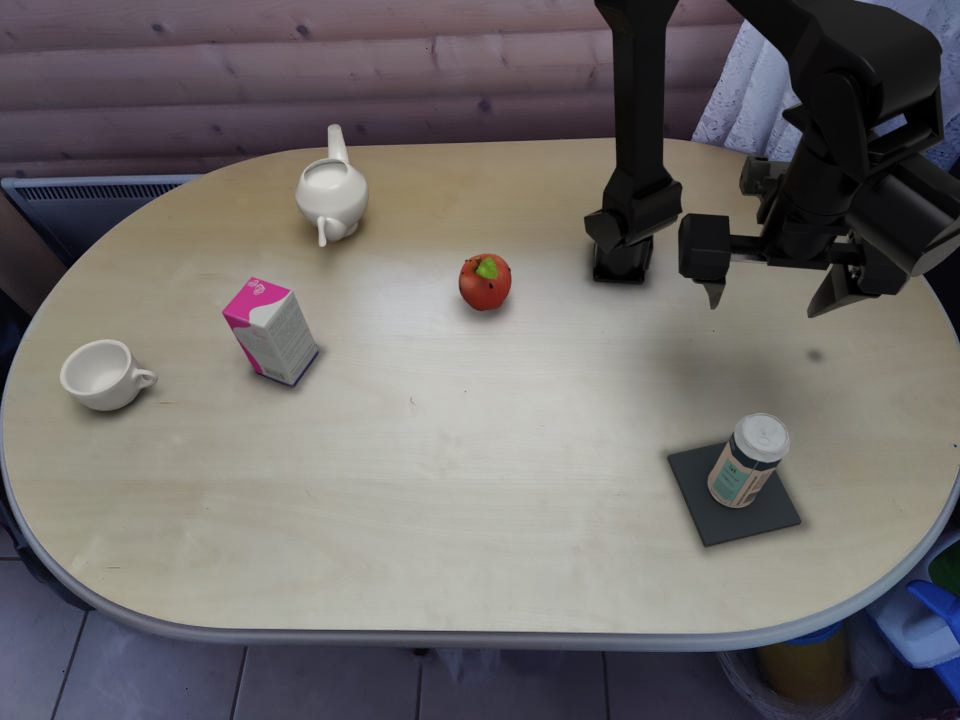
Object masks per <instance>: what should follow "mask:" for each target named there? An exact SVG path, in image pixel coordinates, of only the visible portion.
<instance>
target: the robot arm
mask: <svg viewBox="0 0 960 720" xmlns="http://www.w3.org/2000/svg"><path fill="white" fill-rule="evenodd" d="M725 1H726V2H727V3H728V4H729V5H730V6H731V7H732V9H734V10H735V11H736V12H737V13H738V14H739V15H740V16H741V17H742V18H744V19H745V21H747V22H748V23H749V24H750V25H751V26H752V27H753V28H754V29H755V30H756V31H757V32H758V33H759V34H760V35H761V36H762V37H764V39H766V40H767V41H768V43H770V44H771V45H772V46H773V47H774V48H775V49H776V50H777V51H778V52H779V53H780V54H781V56H782V57H783V58H784V60H785V61H786V62H787V66H788V67H787V68H788V73H789V80H790V87H791V90H792V92H793V93H794V95H795V96H796V97H797V99H798V100H799V101H800V102H798V103H796V104H793V105H792V106H789V107H787V108H785V109H783V110H782V112H781V117H782V119H783V120H784V121H786V122H787V123H789V124H790V125H791V126H793V127H794V128H796V129H797V130H798V131H800V132H801V137H800V138H799V141H798V143H797V146H796V148H795V151H794V152H793V155H792V157H791V160H790V161H785V160H784V161H781V160H780V161H779V160H769V157H768V156H764V155H749V154H748V155H747V156H746V158H745V161H744V163H743V166H742V169H741V172H740V177H739V179H738V180H739V181H738V187H739V190H740V193H741V195H742V196H743V197H756V198H757V199H758V200H759V202H760V204H759V207H758V209H757V211H756V214H755V217H756V225H761V226H762V228H761V230H760V233H759V235H758V236H756V235H745V234H744V235H743V234H732V233H731V225H730V216H729V215H722V214H711V213H710V214H709V213H708V214H706V213H695V212H688V213H686V215H684V216H683V217H682V218H681V219H680V223H679V226H678V229H677V254H678V255H677V256H678V259H677V260H678V263H677V264H678V265H677V266H678V267H677V268H678V274H679V275H680V276H682V277H683V278H685V279H691V281H692V282H693V283H694V284H695V285H696V284H697V285H702V286H703V288H704V290H705V291H706V293H707V297H708V301H709V309H710V310H711V311H715V310H716V309H717V308H718V306H719V305H720V301H721V299H722V296H723V293H724V291H725V288H726V285H727V277H726V276H727V275H728V272H729V269H730V265H731V262H734V263H745V264H757V265H759V264H760V265H766V266H767V267H777V268H790V269H803V270H813V271H825V272H827V270H828V269H829V267H830V266H831V268H830V269H829V271H828V272H827V274H826V275H825V277H824V279H823V281H822V282H821V283H820V285H819V286H818V288H817V290H816V291H815V292H814V295H813V296H812V298H811V299H810V302H809V304H808V306H807V308H806V315H807V318H808V319H815V318H817V317H819V316H823V315H825V314H827V313H830V312H832V311H835V310H838V309H840V308H843V307H846V306H849V305H852V304H856V303H858V302H862V301H865V300H869V299H872V300H873V299H879V298H880V297H881V296H882V295H885V296H897V295H898V294H899V293H901V292H902V291H903V289H904V288H905V286H906V285H907V284H908V283H909V281H910V280H911V278H918V277H920V276H922V275H925V274H927V272H929V271H930V270H932V269H934V268H935V267H936V266H937V265H939V264H941V262H943V261H944V260H945V259H947V258H948V257H949V256H950V255H951V254H953V253H954V252H955V251H956V250H957V249H958V248H959V247H960V179H957V178H955V176H953V175H951V174H950V173H949V172H947V171H945V170H944V169H942V168H941V167H939V166H938V165H937V164H935V163H934V162H932V161H931V160H929V159H928V158H926V156H925V154H926V152H927V151H928V150H929V149H931V148H934V147H936V146H937V145H939V144H941V143H943V142H944V140H945V128H944V127H945V126H944V125H945V124H944V115H943V114H944V112H943V103H942V92H941V91H942V90H941V79H940V77H941V74H942V59H941V58H942V57H941V56H942V55H943V52H944V51H943V50H944V49H943V47H942V45H941V42H940V41H939V39H938V38H937V37H936V36H935V34H934V33H933V32H932V31H931V30H930V29H928V28H927V27H925V26H924V25H922V24H920V23H918V22H917V21H915V20H913V19H911V18H909V17H907V16H906V15H904V14H902V13H900V12H898V11H896V10H894V9H892V8H890V7H889V6H884V5H879V4H876V3H875V4H874V3H871V2H866V1H860V0H725ZM679 2H680V0H593V4H594V6H595V8H596V9H597V11H598V12H599V14H600V15H601V16H602V18H603V19H604V21H605V23H606V24H607V25H608V27H609V29H610V30H611V35H612V39H611V40H612V66H613V67H612V70H613V71H612V72H613V100H614V105H613V106H614V107H613V108H614V129H615V130H614V133H615V134H614V135H615V138H614V139H615V168H614V170H613V171H612V174H611V176H610V177H609V179H608V182H607V183H606V185H605V187H604V189H603V190H602V191H603V192H602V199H601V208H600V209H597V210H595V211H593V212H591V213H589V214H587V215H584V216H583V225H584V231H585V233H586V234H587V235H588V236H589V237H590V238H591V239H592V240H593V242H594V244H593V260H592V261H593V263H592V277H591V278H592V280H593V281H595V282H603V283H620V284H633V285H634V284H636V285H637V284H638V285H642V284H644V283H645V280H646V271H648V270H649V269H650V265H651V262H652V257H653V252H654V247H655V245H654V243H655V242H654V239H655V238H654V237H655V235H654V234H656V233H658V232H660V231H663V230H664V229H667V228H669V227H670V226H673V225H674V223H676V222H677V221H678V219H679V215H681V214H682V213H683V212H684V211H683V206H682V193H683V189H684V187H683V185H682V182H681V181H678V180H675V179H674V177H673V176H672V174H671V173H670V172H669V171H668V169H667V168H666V167H665V165H664V164H665V163H664V146H665V145H664V143H665V142H664V140H665V136H664V135H665V102H666V101H665V100H666V99H665V95H666V59H667V58H666V56H667V55H666V53H667V52H666V51H667V27H668V24H669V22H670V20H671V18H672V17H673V14H674V12H675V10H676V8H677V6H678V4H679ZM902 114H903V116H904V120H905V121H906V123H905V124H902V125H901V126H898V127H897V128H894V129H892V130H891V131H889V132H887V133H884V134H883V135H881V136H880V135H879V134H878V133H877V129H876V127H878V126H881V125H882V124H885V123H887V122H889V121H890V120H892V119H895V118H896V117H900V116H901V115H902ZM844 237H845V238H844ZM846 237H848V238H846Z"/></svg>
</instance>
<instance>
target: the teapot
mask: <svg viewBox="0 0 960 720" xmlns="http://www.w3.org/2000/svg"><path fill="white" fill-rule="evenodd" d="M369 193H370V191H369V185H368V182H367V179H366V177H365V176H364V175H363V173H362V172H361V171H360V170H359V169H358V168H356V167H355V166H354V165H352V164H351V163H350V159H349V154H348V150H347V145H346V142H345V138H344V135H343V131H342V128H341V125H339V124H337V123H332V124H330V125H329V126H328V127H327V157H325V158H321V159H318V160H315V161H313V162H311V163H310V164H309V165H307V166H306V167H305V168H304V170H302V172H301V174H300V175H299V178H298V180H297V183H296V185H295V188H294V199H295V204H296V206H297V209H298V210H299V212H300V213H301V215H302V216H303V217H304V219H306V220H307V221H308V222H309V223H310V224H312V226H315V227H316V228H317V229H318V245H319V247H321V248H322V247H325V246H326V245H327V241H328V242H331V243H333V242H334V243H335V242H338V241H341V240H342V239H343V238H346V237H349V236H351V235H352V234H353V233H355V232H356V230H357V228H358V226H359V221H360V220H361V219H362V217H363V216H364V214H365V212H366V211H367V208H368V203H369V199H370V198H369V197H370V194H369Z"/></svg>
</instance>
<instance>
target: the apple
mask: <svg viewBox="0 0 960 720" xmlns="http://www.w3.org/2000/svg"><path fill="white" fill-rule="evenodd" d="M512 279H513V278H512V269H511V267H510V266H509V264H508V263H507V262H506V261H505V259H504V258H502V257H501V256H500V255H498V254H495V253H481V254H476V255H474V256H471V257H469V258H468V259H465V260H464V263H463V265H462V267H461V269H460V272H459V276H458V291H459V293H460V296H461V297H462V300H464V301H465V303H467V304H468V306H469V307H471V308H472V309H473V310H475V311H477V312H487V311H493V310H494V309H495V310H496V309H498V308H500V307H501V306H502V305H503V303H504V302H505V301H506V300H507V298H508V296H509V294H510V291H511V288H512Z"/></svg>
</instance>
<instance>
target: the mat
mask: <svg viewBox="0 0 960 720" xmlns="http://www.w3.org/2000/svg"><path fill="white" fill-rule="evenodd" d="M728 441H729V440H727V441H724V442H719V443H715V444H710V445H706V446H702V447H697V448H693V449H689V450H684V451H679V452H675V453H671V454H668V455H667V460H668V462H669V465H670V467H671V469H672V472H673V474H674V476H675V479H676V481H677V483H678V486H679V489H680V491H681V493H682V495H683V497H684V500H685V503H686V504H687V507H688V510H689V512H690V515H691V517H692V519H693V522H694V524H695V527H696V529H697V531H698V534H699V536H700V539H701V542H702V543H703V546H704V547H710V546H714V545H719V544H722V543H726V542H731V541H734V540H739V539H743V538H748V537H753V536H756V535H760V534H763V533H768V532H772V531H776V530H780V529H785V528H789V527H792V526H797V525H800V524H801V523H803V521H802V518H801V517H800V515H799V513H798V511H797V509H796V507H795V505H794V503H793V502H792V499H791V498H790V496H789V494H788V492H787V490H786V487H785V486H784V484H783V482H782V480H781V477H780V476H779V474H778V472H777V470H776V469H775V470H774V471H773V472H772V474H771V475H770V477H769V478H768V479H767V481H766V482H765V483H764V485H763V486H762V488H761V489H760V490H759V492H758V493H757V495H756V496H755V498H754V500H753V501H752V502H751V503H750V504H749V505H747V506H744V507H741V508H732V507H728V506H725V505H723V504H721V503H720V502H718V501H717V500H716V499H715V498H714V497H713V496H712V494H711V492H710V490H709V487H708V477H709V474H710V473H711V471H712V470H713V468H714V467H715V465H716V463H717V461H718V459H719V457H720V456H721V454H722V452H723V450H724V448H725V446H726V444H727V443H728Z"/></svg>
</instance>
